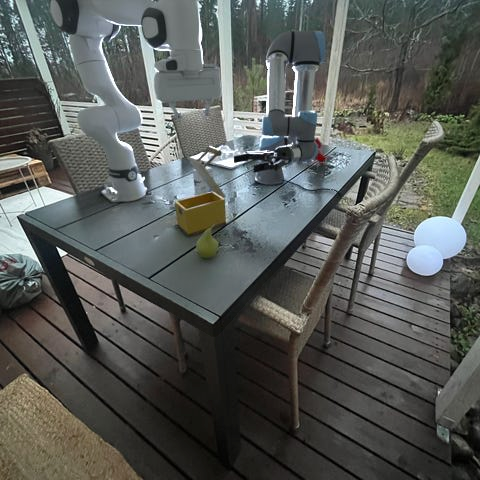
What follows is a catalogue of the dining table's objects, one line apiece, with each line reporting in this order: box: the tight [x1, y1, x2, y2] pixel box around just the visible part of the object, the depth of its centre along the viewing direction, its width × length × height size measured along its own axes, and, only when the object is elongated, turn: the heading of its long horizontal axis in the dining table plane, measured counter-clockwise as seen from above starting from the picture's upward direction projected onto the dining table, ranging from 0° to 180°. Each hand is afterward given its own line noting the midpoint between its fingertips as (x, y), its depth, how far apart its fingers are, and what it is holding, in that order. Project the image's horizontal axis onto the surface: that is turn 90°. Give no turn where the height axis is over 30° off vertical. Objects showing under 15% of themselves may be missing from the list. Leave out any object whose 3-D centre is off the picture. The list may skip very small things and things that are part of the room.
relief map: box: [190, 144, 253, 170], centre depth 177 cm, size 27×35×5 cm
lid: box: [186, 145, 227, 199], centre depth 97 cm, size 17×9×9 cm
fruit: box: [195, 221, 219, 259], centre depth 84 cm, size 7×8×12 cm
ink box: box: [192, 165, 214, 195], centre depth 128 cm, size 8×5×12 cm, turn 135°
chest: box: [174, 191, 227, 238], centre depth 101 cm, size 16×9×11 cm, turn 125°
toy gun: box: [314, 136, 327, 165], centre depth 168 cm, size 18×4×15 cm
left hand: (192, 117), depth 84 cm, fingers open, 8 cm apart
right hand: (243, 163), depth 102 cm, fingers open, 13 cm apart
